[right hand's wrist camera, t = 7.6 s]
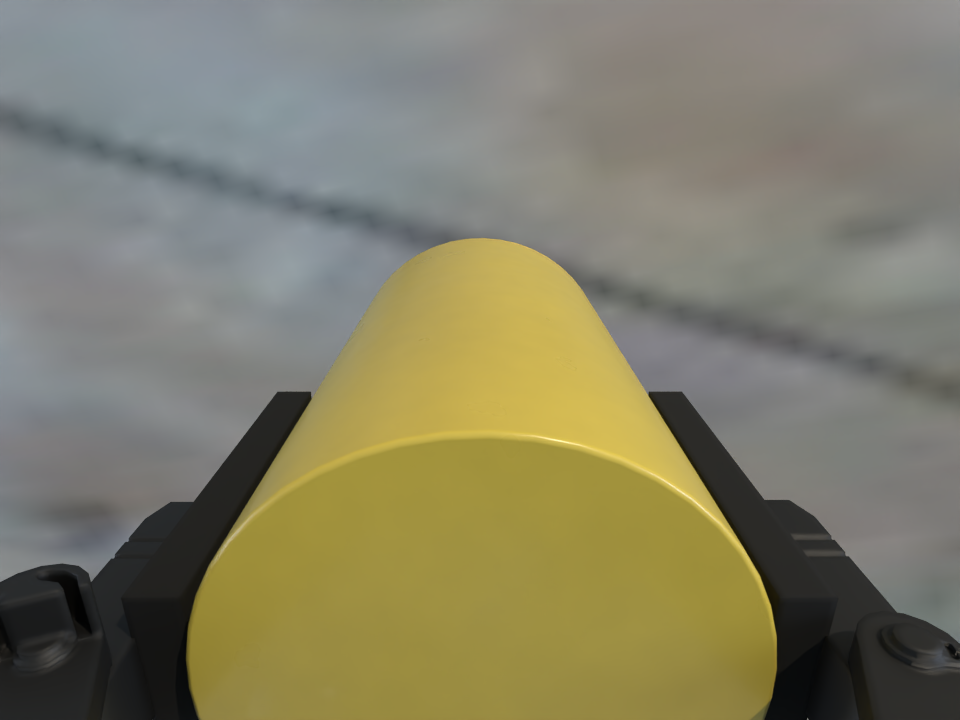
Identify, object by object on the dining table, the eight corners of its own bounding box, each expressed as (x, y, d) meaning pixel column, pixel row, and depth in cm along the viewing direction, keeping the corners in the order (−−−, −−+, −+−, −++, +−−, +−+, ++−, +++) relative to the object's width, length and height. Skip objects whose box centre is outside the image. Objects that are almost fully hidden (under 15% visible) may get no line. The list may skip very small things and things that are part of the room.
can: (328, 271, 19) (74, 512, 7) (576, 210, 18) (754, 363, 6) (399, 483, 21) (302, 911, 10) (618, 436, 21) (796, 837, 9)
